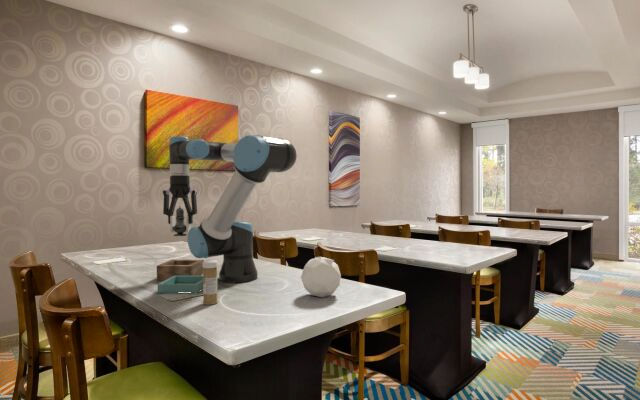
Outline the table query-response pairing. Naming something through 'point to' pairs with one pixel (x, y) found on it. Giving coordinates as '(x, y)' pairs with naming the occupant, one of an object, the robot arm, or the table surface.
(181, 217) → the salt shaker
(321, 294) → the geodesic sphere
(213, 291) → the sprinkles bottle
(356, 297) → the table surface
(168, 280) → the tray
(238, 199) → the robot arm
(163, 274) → the wooden crate
